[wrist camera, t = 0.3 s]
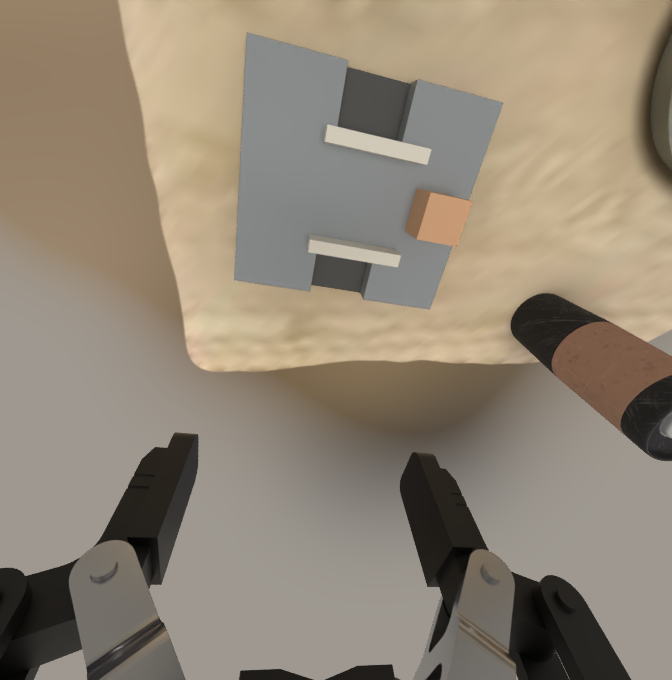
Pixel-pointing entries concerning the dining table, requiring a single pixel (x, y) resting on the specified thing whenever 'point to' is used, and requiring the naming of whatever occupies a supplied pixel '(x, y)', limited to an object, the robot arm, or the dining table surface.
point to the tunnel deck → (348, 173)
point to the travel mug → (603, 368)
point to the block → (437, 217)
